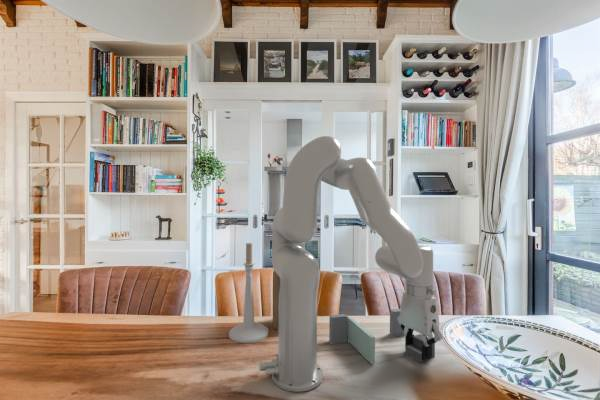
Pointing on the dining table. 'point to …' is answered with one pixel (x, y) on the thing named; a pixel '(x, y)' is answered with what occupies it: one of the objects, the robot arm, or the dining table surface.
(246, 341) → the candlestick
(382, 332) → the dining table surface
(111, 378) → the dining table surface
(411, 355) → the dark grey stepped block
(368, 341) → the door
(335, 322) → the door frame
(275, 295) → the wooden block
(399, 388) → the dining table surface
